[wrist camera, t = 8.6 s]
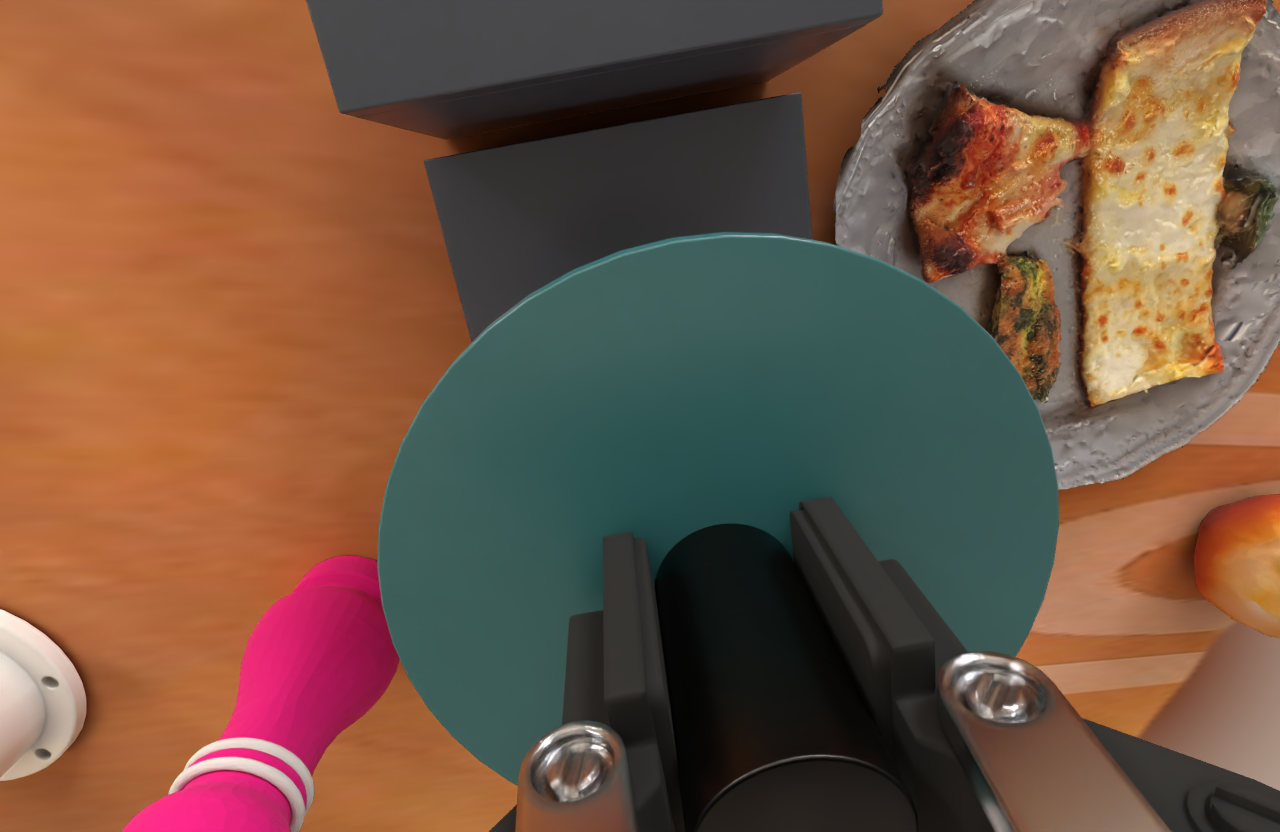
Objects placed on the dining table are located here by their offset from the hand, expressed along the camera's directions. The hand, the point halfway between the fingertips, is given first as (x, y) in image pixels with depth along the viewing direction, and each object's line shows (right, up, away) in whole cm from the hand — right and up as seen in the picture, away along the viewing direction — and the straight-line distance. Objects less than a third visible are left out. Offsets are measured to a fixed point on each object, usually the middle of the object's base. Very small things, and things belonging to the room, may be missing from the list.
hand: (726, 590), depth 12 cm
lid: (0, 0, +1) cm, 1 cm away
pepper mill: (-18, -7, +26) cm, 33 cm away
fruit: (+34, -4, +28) cm, 45 cm away
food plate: (+19, +12, +22) cm, 31 cm away
